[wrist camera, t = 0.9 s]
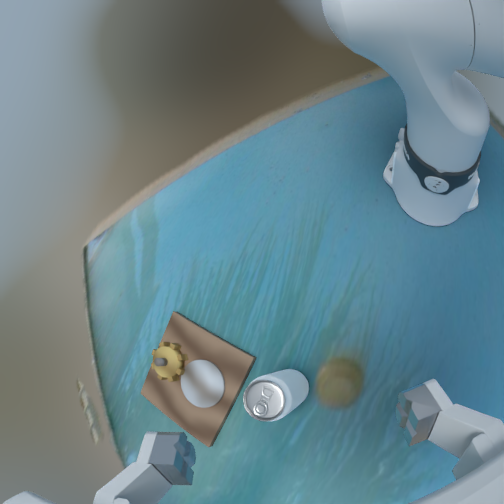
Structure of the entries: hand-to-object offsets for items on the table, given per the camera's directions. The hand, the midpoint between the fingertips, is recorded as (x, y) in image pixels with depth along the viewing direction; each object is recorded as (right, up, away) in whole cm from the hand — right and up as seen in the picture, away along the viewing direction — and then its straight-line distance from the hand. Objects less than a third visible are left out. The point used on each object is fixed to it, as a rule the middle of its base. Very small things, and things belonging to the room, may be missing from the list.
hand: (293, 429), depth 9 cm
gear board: (-13, -17, +41) cm, 46 cm away
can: (+5, -15, +34) cm, 37 cm away
